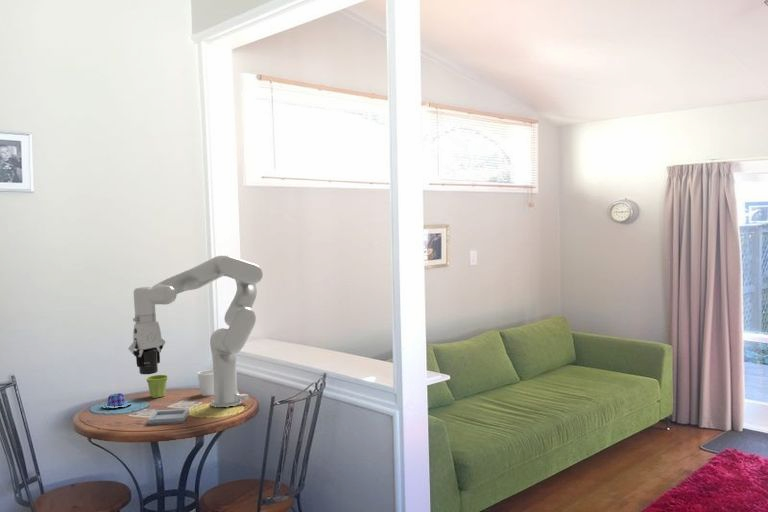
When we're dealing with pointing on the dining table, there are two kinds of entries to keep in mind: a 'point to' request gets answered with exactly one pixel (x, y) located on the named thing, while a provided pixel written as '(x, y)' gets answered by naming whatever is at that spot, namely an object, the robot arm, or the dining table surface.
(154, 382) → the plant pot
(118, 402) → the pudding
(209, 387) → the dixie cup
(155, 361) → the supplement bottle
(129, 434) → the dining table surface
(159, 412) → the tray
